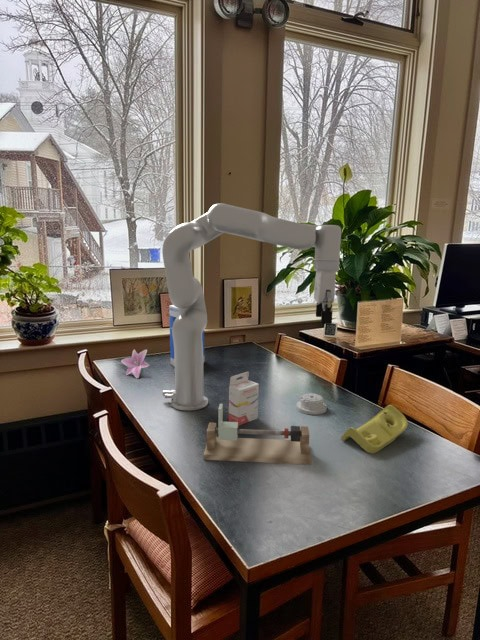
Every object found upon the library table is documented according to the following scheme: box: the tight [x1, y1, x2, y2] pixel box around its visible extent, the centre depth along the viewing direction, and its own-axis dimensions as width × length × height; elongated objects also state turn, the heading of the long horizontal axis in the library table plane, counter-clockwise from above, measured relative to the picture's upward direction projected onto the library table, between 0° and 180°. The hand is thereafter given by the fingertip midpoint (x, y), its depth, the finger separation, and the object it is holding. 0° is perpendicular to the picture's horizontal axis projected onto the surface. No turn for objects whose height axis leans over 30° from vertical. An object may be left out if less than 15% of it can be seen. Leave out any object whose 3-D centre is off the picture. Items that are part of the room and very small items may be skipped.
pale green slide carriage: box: [217, 403, 239, 441], centre depth 125 cm, size 5×4×9 cm
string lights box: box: [168, 304, 206, 367], centre depth 197 cm, size 13×8×26 cm, turn 133°
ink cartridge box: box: [228, 371, 260, 427], centre depth 145 cm, size 9×5×15 cm, turn 135°
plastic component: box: [340, 404, 408, 454], centre depth 136 cm, size 20×7×10 cm
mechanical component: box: [295, 392, 328, 415], centre depth 155 cm, size 10×4×10 cm
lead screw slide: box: [203, 422, 312, 465], centre depth 126 cm, size 28×10×8 cm, turn 86°
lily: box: [121, 349, 150, 379], centre depth 186 cm, size 12×12×10 cm
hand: (323, 320), depth 148 cm, fingers open, 9 cm apart
